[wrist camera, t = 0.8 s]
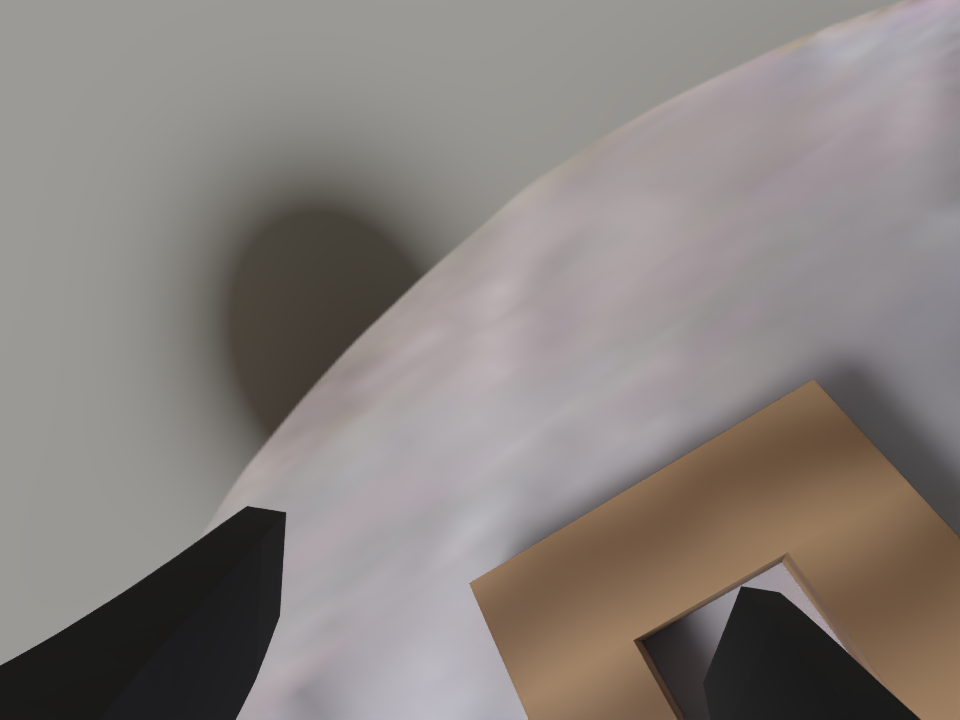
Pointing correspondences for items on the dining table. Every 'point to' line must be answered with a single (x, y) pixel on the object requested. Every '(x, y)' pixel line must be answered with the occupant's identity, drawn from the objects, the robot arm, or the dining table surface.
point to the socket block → (735, 568)
